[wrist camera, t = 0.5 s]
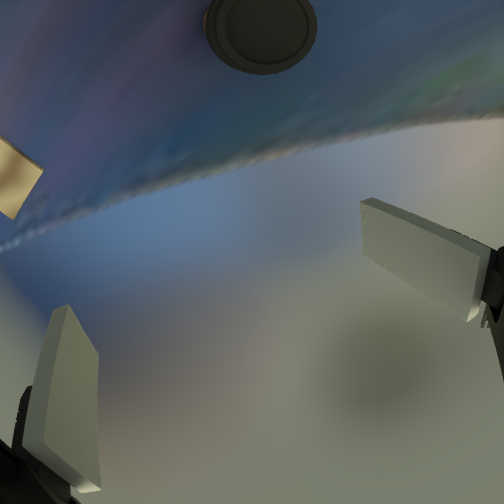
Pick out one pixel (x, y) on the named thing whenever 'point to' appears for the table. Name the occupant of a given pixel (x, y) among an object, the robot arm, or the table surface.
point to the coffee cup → (260, 33)
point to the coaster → (15, 178)
